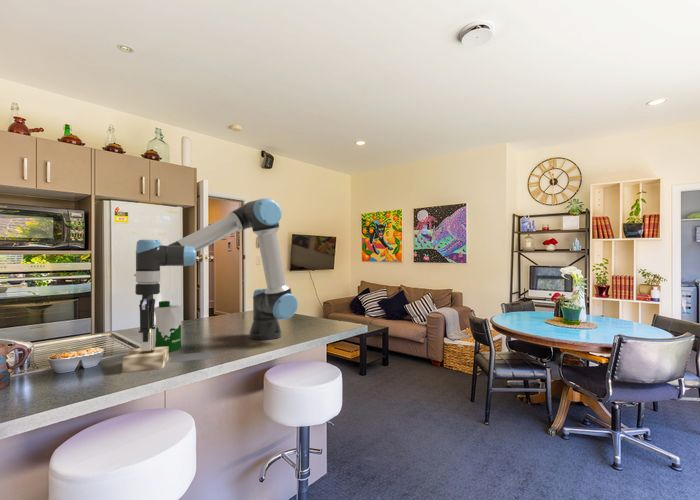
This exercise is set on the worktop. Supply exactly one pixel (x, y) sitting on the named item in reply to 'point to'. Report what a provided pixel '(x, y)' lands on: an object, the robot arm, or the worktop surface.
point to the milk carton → (168, 325)
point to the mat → (191, 356)
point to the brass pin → (151, 344)
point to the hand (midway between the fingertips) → (146, 349)
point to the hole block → (145, 359)
